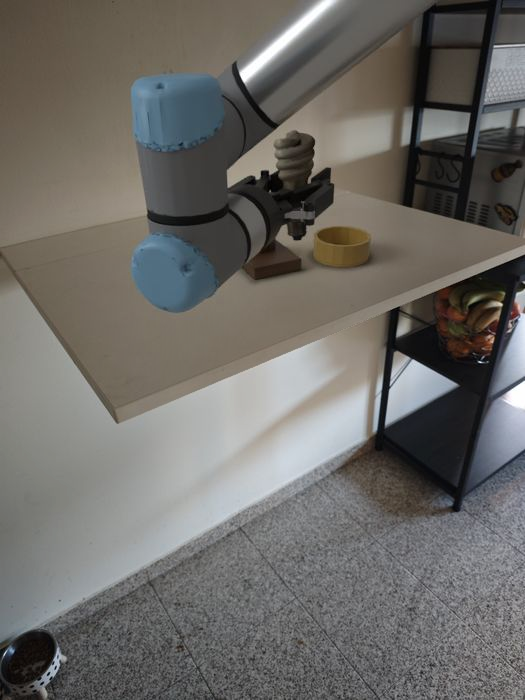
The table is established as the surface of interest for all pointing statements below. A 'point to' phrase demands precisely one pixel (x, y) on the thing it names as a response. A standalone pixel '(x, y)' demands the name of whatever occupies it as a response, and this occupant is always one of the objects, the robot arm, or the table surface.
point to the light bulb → (295, 169)
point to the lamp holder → (341, 246)
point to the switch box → (272, 261)
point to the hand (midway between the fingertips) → (308, 175)
